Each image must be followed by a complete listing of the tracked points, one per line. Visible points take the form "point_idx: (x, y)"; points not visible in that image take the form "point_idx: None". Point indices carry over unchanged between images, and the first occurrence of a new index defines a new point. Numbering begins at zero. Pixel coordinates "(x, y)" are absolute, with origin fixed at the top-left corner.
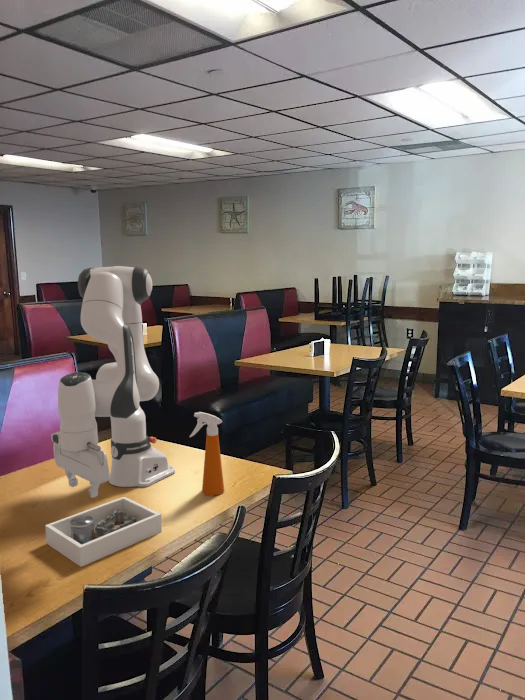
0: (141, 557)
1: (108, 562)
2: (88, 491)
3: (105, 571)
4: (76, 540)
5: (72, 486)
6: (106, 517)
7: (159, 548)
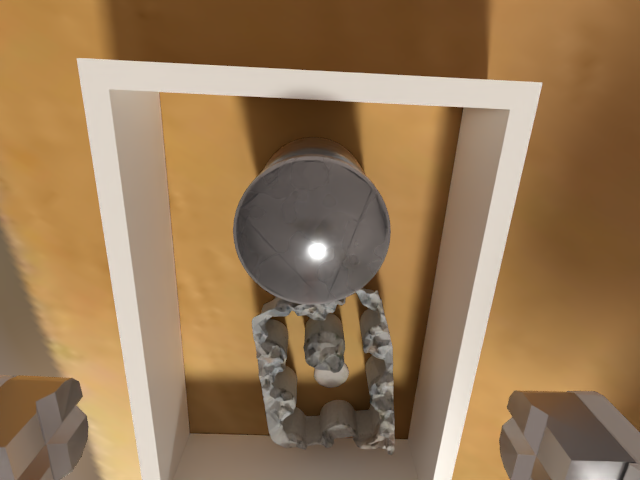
0: (39, 290)
1: (91, 178)
2: (25, 421)
3: (23, 122)
4: (287, 150)
5: (518, 397)
6: (389, 379)
7: (61, 370)
